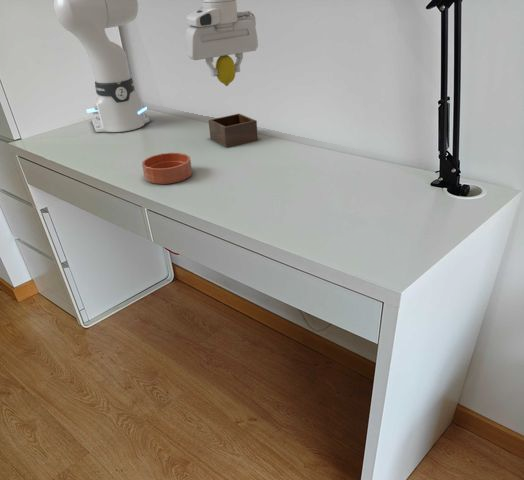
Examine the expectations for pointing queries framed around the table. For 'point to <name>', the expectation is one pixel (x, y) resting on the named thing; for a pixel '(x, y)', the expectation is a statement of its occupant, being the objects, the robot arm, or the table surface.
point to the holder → (233, 130)
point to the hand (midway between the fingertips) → (225, 73)
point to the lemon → (225, 69)
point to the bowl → (167, 168)
